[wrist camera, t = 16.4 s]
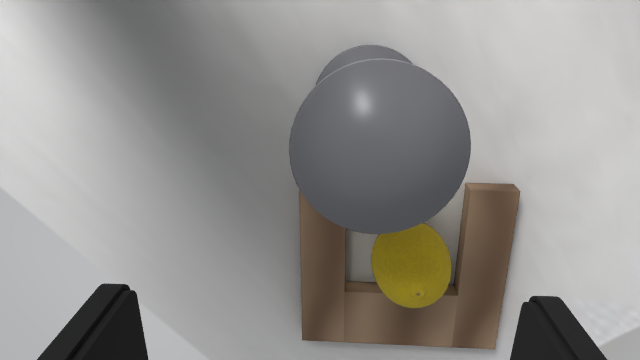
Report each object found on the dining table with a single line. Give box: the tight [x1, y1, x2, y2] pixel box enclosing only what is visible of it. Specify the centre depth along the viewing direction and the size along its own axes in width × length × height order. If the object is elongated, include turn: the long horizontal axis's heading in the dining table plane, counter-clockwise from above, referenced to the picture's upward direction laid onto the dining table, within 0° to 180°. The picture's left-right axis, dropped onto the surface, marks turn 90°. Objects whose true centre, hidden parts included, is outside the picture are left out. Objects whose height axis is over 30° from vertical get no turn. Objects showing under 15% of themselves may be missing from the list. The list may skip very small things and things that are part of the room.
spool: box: [289, 45, 471, 234], centre depth 26 cm, size 8×8×13 cm
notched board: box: [299, 183, 520, 349], centre depth 35 cm, size 16×14×2 cm
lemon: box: [371, 223, 451, 308], centre depth 31 cm, size 6×6×8 cm
